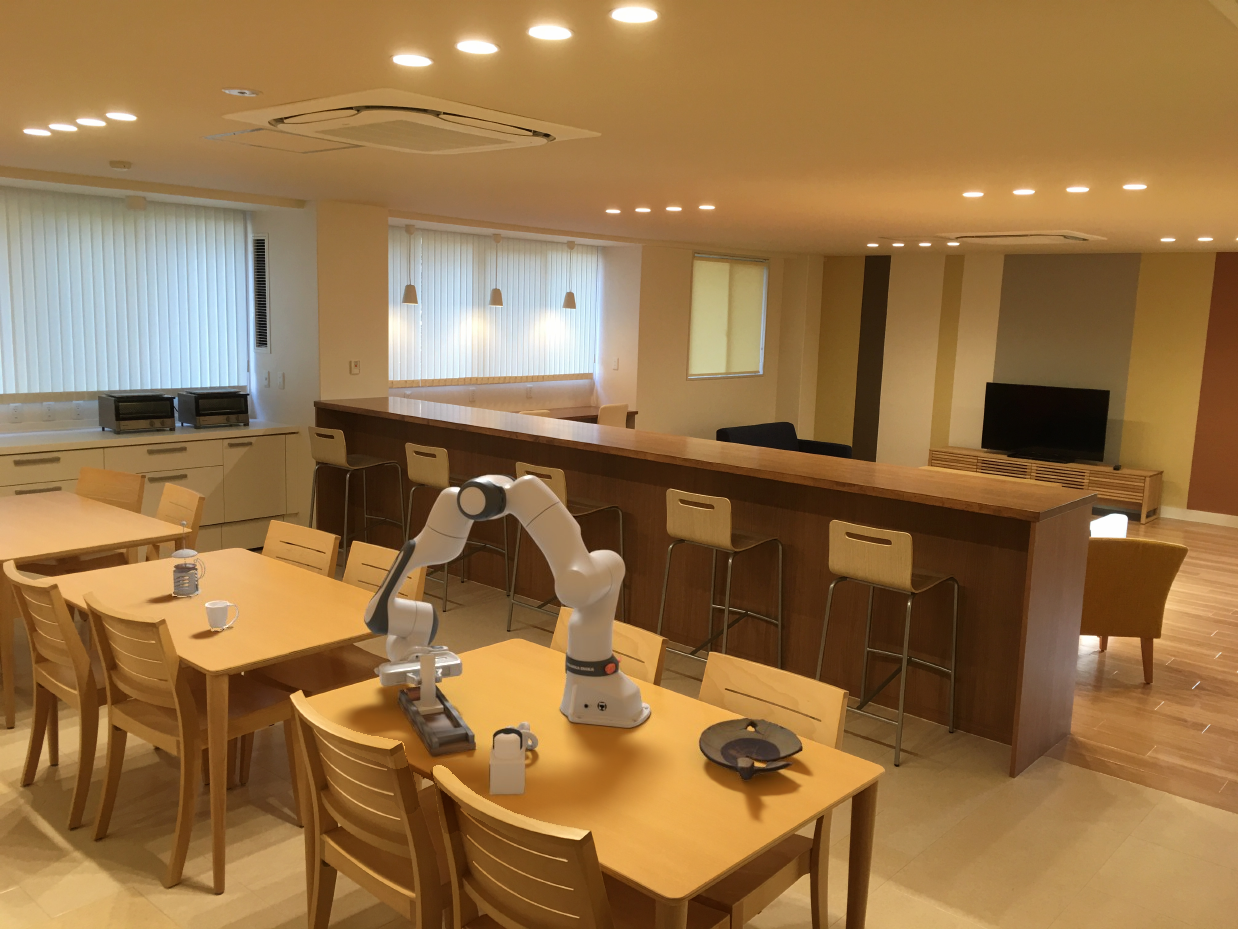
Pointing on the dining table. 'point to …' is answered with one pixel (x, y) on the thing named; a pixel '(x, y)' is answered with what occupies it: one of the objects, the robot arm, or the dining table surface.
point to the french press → (186, 572)
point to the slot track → (437, 724)
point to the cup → (219, 614)
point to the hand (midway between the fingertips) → (428, 681)
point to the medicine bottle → (507, 763)
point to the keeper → (428, 687)
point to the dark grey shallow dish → (749, 746)
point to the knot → (526, 735)
